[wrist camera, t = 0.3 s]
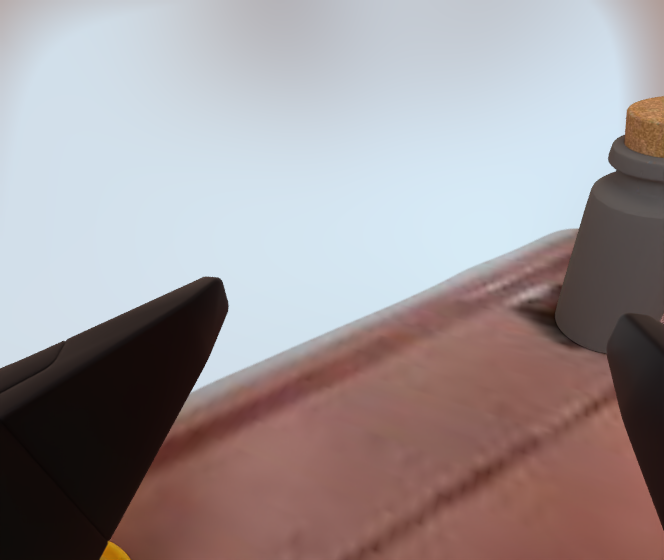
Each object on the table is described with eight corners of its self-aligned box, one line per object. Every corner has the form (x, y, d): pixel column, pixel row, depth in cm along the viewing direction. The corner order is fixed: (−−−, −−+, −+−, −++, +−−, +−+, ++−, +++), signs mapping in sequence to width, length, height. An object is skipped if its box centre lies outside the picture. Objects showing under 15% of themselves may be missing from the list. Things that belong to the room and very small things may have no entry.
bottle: (563, 289, 31) (622, 91, 22) (653, 312, 28) (767, 90, 18) (545, 336, 27) (605, 124, 18) (645, 368, 24) (780, 132, 15)
